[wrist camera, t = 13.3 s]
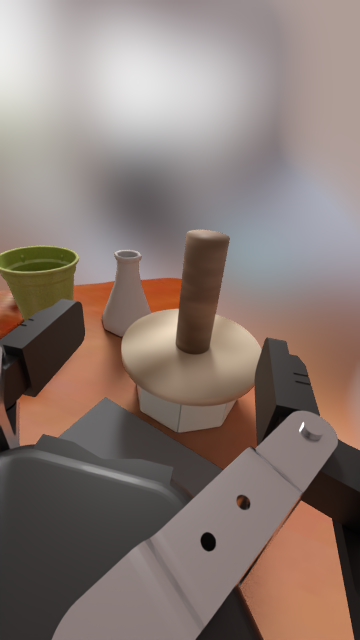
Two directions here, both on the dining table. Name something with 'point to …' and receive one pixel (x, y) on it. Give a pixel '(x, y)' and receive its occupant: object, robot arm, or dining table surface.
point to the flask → (125, 295)
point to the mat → (139, 444)
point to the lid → (193, 337)
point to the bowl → (182, 413)
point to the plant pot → (39, 276)
